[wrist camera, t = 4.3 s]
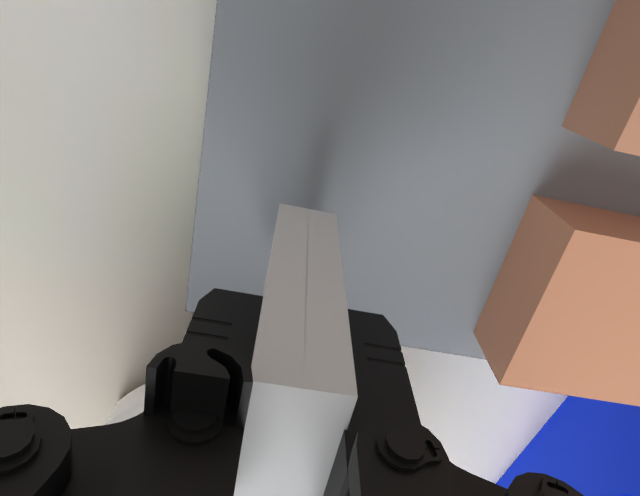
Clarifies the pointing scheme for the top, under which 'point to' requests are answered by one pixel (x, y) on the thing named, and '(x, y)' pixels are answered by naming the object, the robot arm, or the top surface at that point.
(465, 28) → the board
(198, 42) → the top surface
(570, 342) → the tile
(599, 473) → the bracket
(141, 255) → the top surface
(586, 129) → the tile
